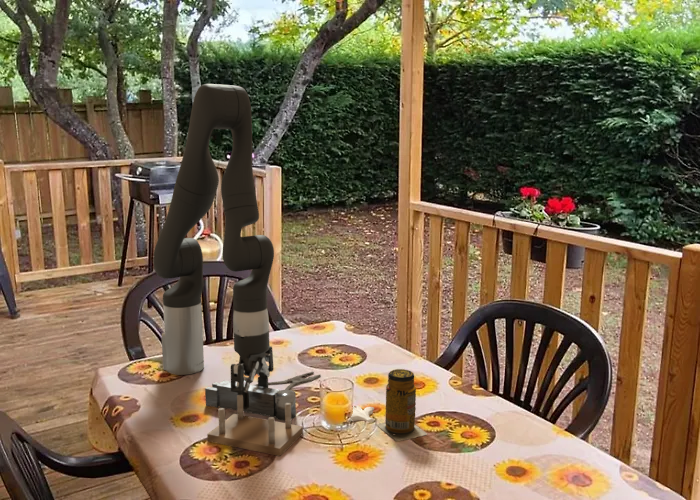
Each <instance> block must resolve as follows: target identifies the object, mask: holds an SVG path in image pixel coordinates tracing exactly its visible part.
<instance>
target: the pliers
mask: <svg viewBox="0 0 700 500" xmlns="http://www.w3.org/2000/svg"><path fill="white" fill-rule="evenodd" d="M314 374H315V373H314V371H310V372H307V373H303V374H299V375H296V376H294V377H291V378H287V379H285V380H280V381H270V382H269V381H268V386H273V385H274V386H276V385H287V384H289V385H288V386H286V387H285V389H284V390H292V388H294V387H296V386H298V385H301V384H305V383H310V382H313V381H315V380H317V379H319V378H320V377H321V376H322V375H321V374H315V375H314ZM312 375H314V376H312ZM253 385H254V386H258V383H257V384H253Z"/></svg>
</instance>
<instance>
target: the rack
mask: <svg viewBox="0 0 700 500" xmlns="http://www.w3.org/2000/svg"><path fill="white" fill-rule="evenodd" d="M225 409H226V408H222V407H218V409H217V410H218V425H217V426H215V428H213V429H212V430H211V431H209V432H208V433H207V435H206V436H207V437H206V438H207V441H208V442H211V443H216V444H219V445H225V446H228V447H229V446H230V447H234V448H235V447H236V448H239V449H244V450H249V451H252V452H253V451H255V452H259V453H265V454H270V455H272V456H278V457H280V456H282V455H283V454H284V453H285V452H286V451H287V450H288V449H289V448H290V447H291V446H292V445H293V444H294V443H295V442H296V441H297V440H298V439H299V438H300V437H301V436H302V435H303V434H304V426H303V425H302V426H301V425H296V424H292V419H291V403H286V404H285V420H284V421H285V422H280V421H277V420H276V421H275V417H271V416H268V418H267V419H264V418H259V417H254V416H249V415H244V411H243V395H237V410H236V411H237V413H233V414H231V415H230V416H229V417H228V418H227V419H226V412H225Z"/></svg>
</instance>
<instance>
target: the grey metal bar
mask: <svg viewBox="0 0 700 500" xmlns="http://www.w3.org/2000/svg"><path fill="white" fill-rule="evenodd" d="M236 385H237V382H236ZM254 385H255V384H250V386H249V390H248V392H249V408H248V409H243V413H244V412H245V413H249V414H255V415H259V416H267V417H274V418H276V419H277V420H279V421H285V404H286V403H291V420H293V419H295V418H296V417H297V409H296V408H297V407H296V406H297V405H296V404H297V402H296V401H297V400H296V396H297V395H296V391H295V390H292V389H290V390H285V389H277V388H271V387H268V388H266V387H260V386H254ZM244 387H245V383H244ZM204 392H205V393H204V394H205V396H204V397H205V398H204V399H205V406H206V407H211V408H216V409H217V408H218V409H219V408H224V409H227V410H233V411H238V410H237V395H238V393H237V392H231V380H230V381H229V380H223V381H221V382H216V381H214V382H213V383H212V384H211V386H207V387H205V388H204Z"/></svg>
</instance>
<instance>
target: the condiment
mask: <svg viewBox="0 0 700 500" xmlns="http://www.w3.org/2000/svg"><path fill="white" fill-rule="evenodd" d="M416 397H417V388H416V385H415V374H414V372H412V371H411V370H408V369H405V368H404V369H403V368H397V369H393V370H390V371H389V372H388V374H387V384H386V387H385V419H384V420H385V422H380V423H376V426H377V427H379V428H380V429H381V430H382V431H384V432H385V433H386V434H388V436H389V437H391V438H392V439H394V441H396V442H399V441H404V440H405V441H406V440H411V439H416V438H417V437H423V436H427V435H428V433H427V432H426V431H424V430H423V429H421V427H419V426H418V425H416V409H417V407H416V400H417V399H416Z"/></svg>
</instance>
